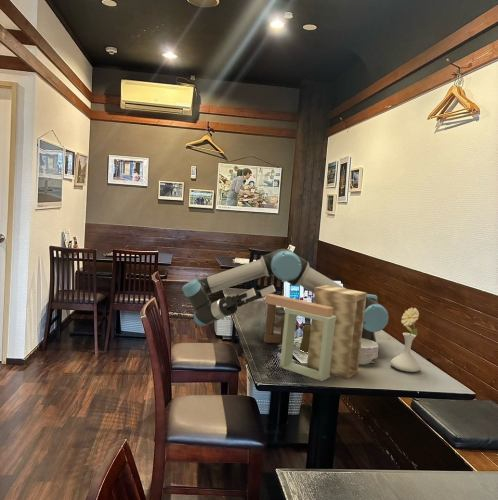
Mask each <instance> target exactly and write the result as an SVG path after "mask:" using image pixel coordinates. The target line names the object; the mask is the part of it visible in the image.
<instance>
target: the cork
mask: <svg viewBox="0 0 498 500" xmlns="http://www.w3.org/2000/svg"><path fill="white" fill-rule="evenodd" d="M310 330H311V324H304V325H303V326H302V332H303V333H302V337H301V342H300V346H299V349H300V350H302V351H304V352H308V349H309V340H310ZM300 350H299V351H300Z"/></svg>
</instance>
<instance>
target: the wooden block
mask: <svg viewBox="0 0 498 500" xmlns="http://www.w3.org/2000/svg"><path fill="white" fill-rule="evenodd" d="M276 309H277V305H272V304H268V303H267V310H266V311H267V312H266V319H265V320H266V321H265V330H264V334H263V341H264V343H266V344H267V343H268V344H281V345H282V340H283V330H284V320H285V315H284V316H283V317H282V318H281V319H280V320H278V321H277V322H276V323H275V324H274V322H275V311H276ZM274 327H281V334H277V333H273V332H274Z"/></svg>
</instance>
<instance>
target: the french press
mask: <svg viewBox="0 0 498 500" xmlns="http://www.w3.org/2000/svg"><path fill="white" fill-rule="evenodd" d="M281 282H283V284H282V287H284V283H287V282H286V281H283V280H281ZM283 293H284V290H282V294H281V296H284V295H283ZM284 315H285V309H282V308H279V309H278V308H276V311H275V322H274V324H275V323H276V322H277V321H278V320H280V319H281V318H282V317H283V316H284ZM273 333H277V334H281V327H274V332H273Z"/></svg>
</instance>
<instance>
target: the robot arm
mask: <svg viewBox="0 0 498 500" xmlns="http://www.w3.org/2000/svg"><path fill="white" fill-rule="evenodd" d="M265 276H266V277H272V276H275V277H276V278H277V279H279V280H281V281H282V280H283V281H286V282H285V283H289V284H290V285H292V286H294V287H295V286H296V287H297V286H301V287H302V288H304V289H306V290H307V291H309V292H311V293H312V294H314V292H315V287H320V286H325V285H329V286H334V287H339V288H344V289H347V288H346V287H344V286H342V285H341V284H339V283H337V282H336V281H334V280H333V279H331V278H329V277H327V276H326V275H324V274H322V273H320V272H319V271H317V270H315V269H314V268H312V267H310V263H309V261H307V260H306V259H304V258H302V257H301V256H299V255H297V254H296V253H295V252H293V251H292V250H290V249H288V248H278V249H277V250H274V251H272V252H270V253H267V254H264V255H262V256H261V257H260V259H257V260H253V261H251V262H247V263H245V264H242V265H239V266H236V267H233V268H231V269H230V268H229V269H227V270H224V271H221V272H218V273H216V274H213V275H209V276H207V277H203V278H198V279H197V278H196V279H195V278H194V279H192V280H190V281H188V282H187V283H185V284H184V285H183V286H182V287H181V289H182V292H183V294H184V296H185V297H186V298H187V301H189V303H190V305H191V306H192V308H193V309H194V312H193V315H192V316H193V321H194V323H195V324H196V325H197V326H199V327H204V326H207V325H210V324H212V323H215V322H216V321H217V322H218V321H219V320H222V321H223V320H225V318H226V317H228V316H232V315H234V314H236V313H237V311H238V308H240V307H243V306H244V305H247V304H248V303H252V302H254V301H256V300H259V299H262V298H265V295H267V294H274V293H275V292H276V288H275V286H274V284H271V285H269V286H267V287H264V288H262V289H261V288H259V291H257V292H256V291H255V288H254V287H252V288H250V289H248V290H246V291H243V292H242V293H239V294H236V295H232V296H231V295H227V296H224V297H222V298H219V299H218V300H215V301H213V302H211V300H210V298H209V295H210V294H211V295H212V294H214V293H217V292H219V291H222V290H226V289H229V288H231V287H234V286H237V285H241V284H243V283H247V282H249V281H253V280H256V279H258V278H263V277H265ZM388 322H389V312H388V310H387V309H386V307H384V305H382V304H380V303H378V296H377V295H376V294H369V293H367V296H366V305H365V313H364V322H363V331H362V338H364V339H368V340H371V341H374V342H376V343H377V339H376V334H375V333H376V332H377V333H378V332H380V331H382V330H384V328H386V326H387V324H388Z"/></svg>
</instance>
